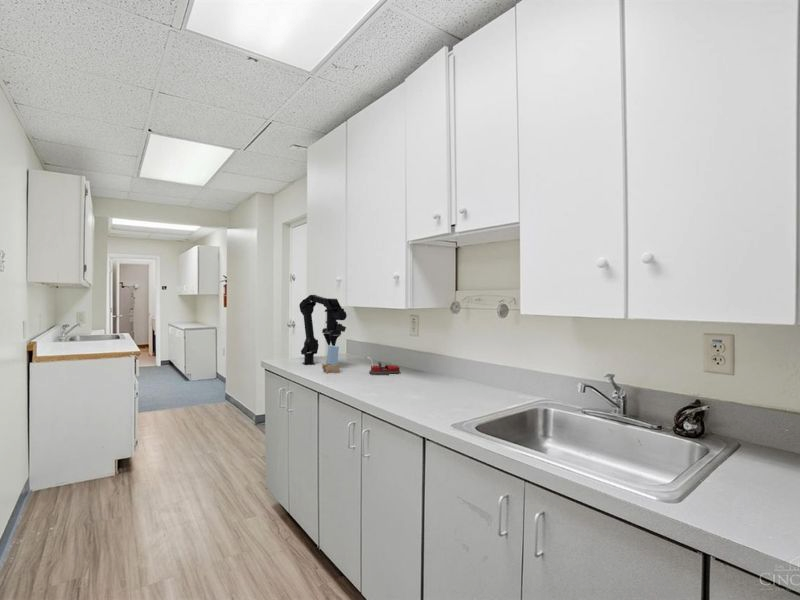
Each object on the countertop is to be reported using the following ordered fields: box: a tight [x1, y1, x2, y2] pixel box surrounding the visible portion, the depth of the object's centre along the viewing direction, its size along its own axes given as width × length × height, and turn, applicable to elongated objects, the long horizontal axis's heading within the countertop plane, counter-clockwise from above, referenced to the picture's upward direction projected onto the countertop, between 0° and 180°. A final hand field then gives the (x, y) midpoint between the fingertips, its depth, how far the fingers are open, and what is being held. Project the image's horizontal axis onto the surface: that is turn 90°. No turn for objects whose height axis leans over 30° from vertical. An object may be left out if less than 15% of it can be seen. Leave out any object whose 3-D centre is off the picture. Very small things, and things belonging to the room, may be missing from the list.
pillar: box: [326, 345, 340, 365], centre depth 236 cm, size 4×4×10 cm
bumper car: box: [364, 356, 401, 376], centre depth 236 cm, size 10×20×10 cm, turn 107°
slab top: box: [321, 363, 341, 370], centre depth 236 cm, size 7×7×2 cm
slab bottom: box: [322, 369, 340, 375], centre depth 236 cm, size 7×7×2 cm
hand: (331, 346), depth 249 cm, fingers open, 9 cm apart
